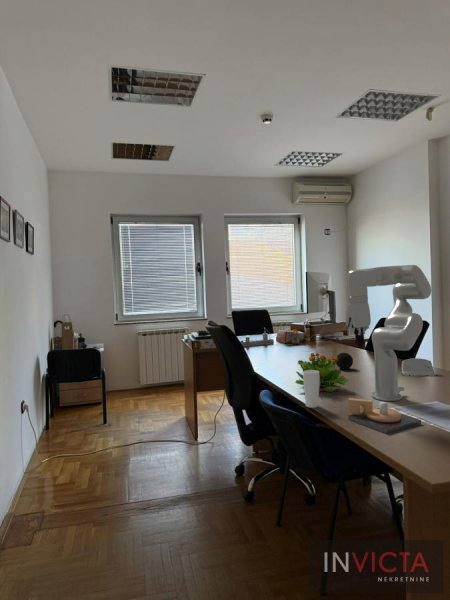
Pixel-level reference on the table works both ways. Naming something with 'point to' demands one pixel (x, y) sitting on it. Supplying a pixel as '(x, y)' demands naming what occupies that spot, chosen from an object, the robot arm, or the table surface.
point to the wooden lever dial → (373, 410)
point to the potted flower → (323, 372)
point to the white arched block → (417, 367)
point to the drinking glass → (311, 387)
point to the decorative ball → (344, 360)
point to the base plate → (385, 426)
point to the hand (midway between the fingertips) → (359, 344)
